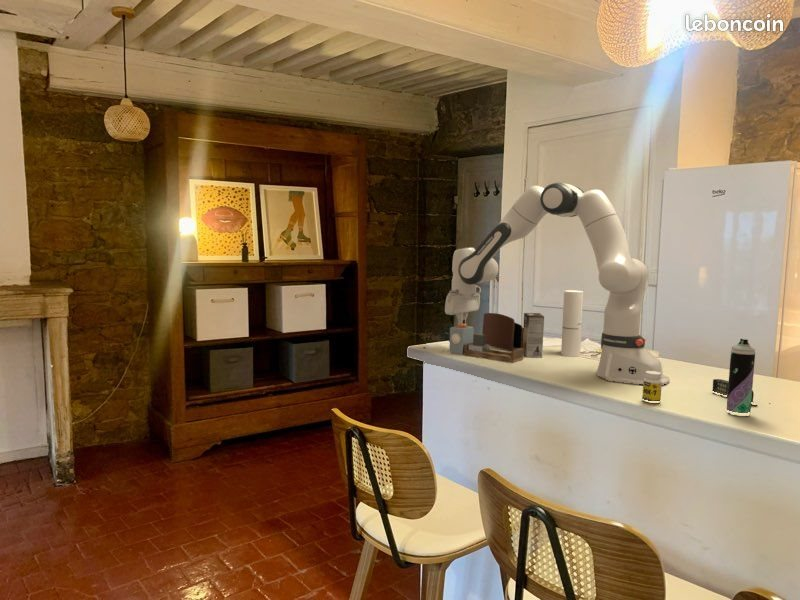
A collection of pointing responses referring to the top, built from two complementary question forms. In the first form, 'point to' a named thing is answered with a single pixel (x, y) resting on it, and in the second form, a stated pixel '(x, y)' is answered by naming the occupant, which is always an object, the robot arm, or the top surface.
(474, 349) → the carriage
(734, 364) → the spray can
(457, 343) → the grey block
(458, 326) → the plunger
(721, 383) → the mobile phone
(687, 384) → the top surface
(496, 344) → the letter holder
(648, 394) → the supplement bottle
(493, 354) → the rail bed
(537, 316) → the coffee box
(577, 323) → the cylindrical container
